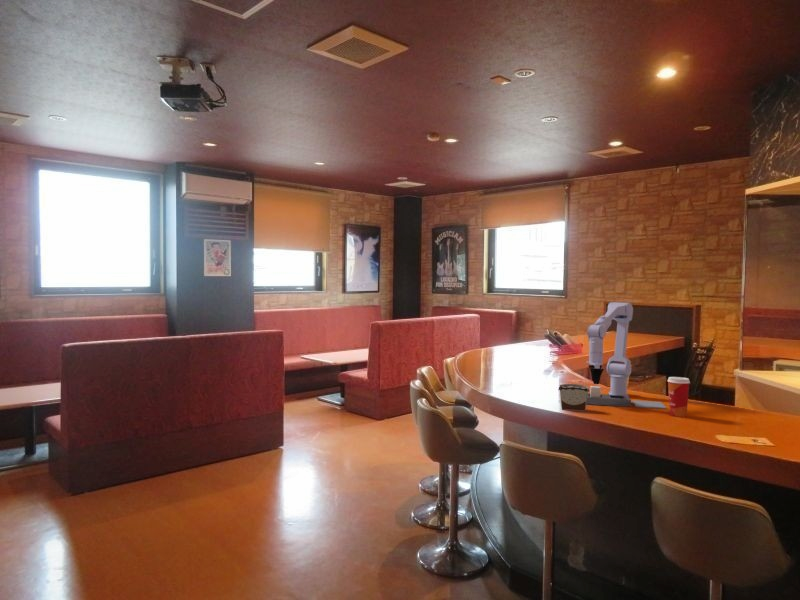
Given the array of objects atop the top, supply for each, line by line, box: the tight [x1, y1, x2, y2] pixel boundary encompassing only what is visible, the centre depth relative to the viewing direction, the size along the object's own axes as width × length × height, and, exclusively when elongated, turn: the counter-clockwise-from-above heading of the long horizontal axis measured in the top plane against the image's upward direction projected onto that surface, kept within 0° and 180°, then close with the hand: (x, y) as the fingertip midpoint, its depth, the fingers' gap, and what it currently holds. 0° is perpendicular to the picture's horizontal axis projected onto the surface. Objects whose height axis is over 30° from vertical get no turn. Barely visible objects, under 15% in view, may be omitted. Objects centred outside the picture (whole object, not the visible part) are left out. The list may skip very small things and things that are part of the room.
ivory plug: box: [589, 385, 602, 397], centre depth 240 cm, size 4×4×7 cm
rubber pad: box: [631, 399, 668, 410], centre depth 235 cm, size 12×12×1 cm
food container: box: [558, 383, 590, 412], centre depth 227 cm, size 12×6×10 cm, turn 74°
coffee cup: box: [666, 376, 691, 418], centre depth 216 cm, size 8×8×15 cm
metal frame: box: [586, 392, 632, 408], centre depth 239 cm, size 10×20×3 cm, turn 75°
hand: (595, 382), depth 240 cm, fingers open, 7 cm apart
